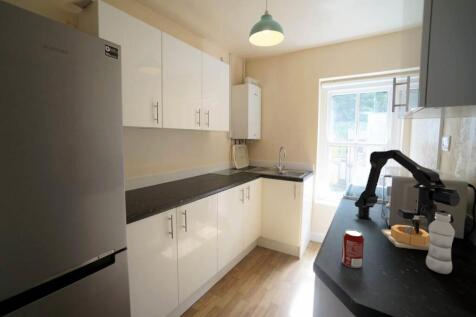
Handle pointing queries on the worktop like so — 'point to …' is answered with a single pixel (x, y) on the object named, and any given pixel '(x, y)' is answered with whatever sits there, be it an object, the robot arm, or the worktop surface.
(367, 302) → the worktop surface
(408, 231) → the hook stand
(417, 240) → the orange octagonal ring
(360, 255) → the soda can
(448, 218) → the plastic bottle
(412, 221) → the robot arm
